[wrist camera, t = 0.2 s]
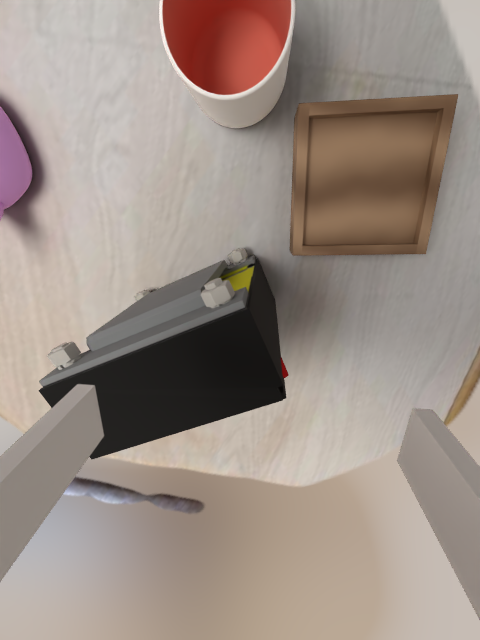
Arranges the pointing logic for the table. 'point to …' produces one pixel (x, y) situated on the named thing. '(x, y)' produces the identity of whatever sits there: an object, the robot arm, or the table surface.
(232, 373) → the electrical component
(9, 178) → the teapot
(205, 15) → the cup
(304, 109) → the wooden tray
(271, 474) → the table surface
